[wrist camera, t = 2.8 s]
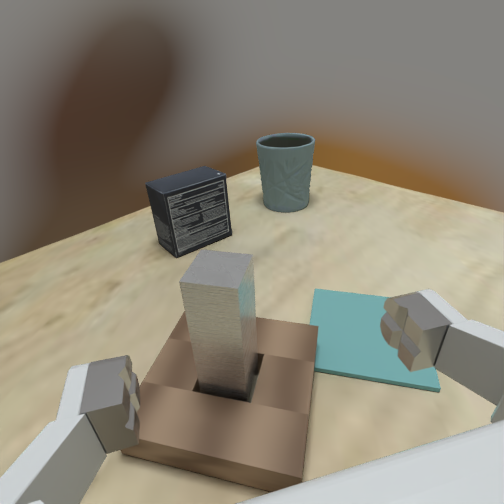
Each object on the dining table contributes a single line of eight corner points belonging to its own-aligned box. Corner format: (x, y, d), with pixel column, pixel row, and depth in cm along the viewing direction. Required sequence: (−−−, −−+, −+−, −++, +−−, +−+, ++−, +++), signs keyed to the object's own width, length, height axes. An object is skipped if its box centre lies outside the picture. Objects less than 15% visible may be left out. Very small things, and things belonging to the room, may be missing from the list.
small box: (212, 221, 60) (205, 163, 55) (233, 235, 56) (228, 173, 50) (156, 242, 55) (143, 180, 49) (176, 259, 50) (163, 193, 45)
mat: (303, 369, 33) (303, 365, 33) (314, 291, 43) (314, 288, 42) (439, 392, 30) (440, 388, 30) (417, 304, 40) (418, 300, 40)
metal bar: (204, 408, 30) (179, 281, 22) (218, 371, 33) (201, 249, 26) (248, 418, 29) (237, 288, 21) (258, 379, 32) (252, 254, 25)
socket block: (122, 453, 27) (112, 432, 25) (190, 327, 38) (186, 307, 37) (299, 499, 24) (301, 478, 22) (316, 347, 35) (318, 326, 34)
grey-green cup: (320, 209, 63) (325, 142, 56) (268, 218, 60) (267, 150, 54) (298, 189, 71) (300, 130, 65) (251, 197, 69) (249, 136, 62)
